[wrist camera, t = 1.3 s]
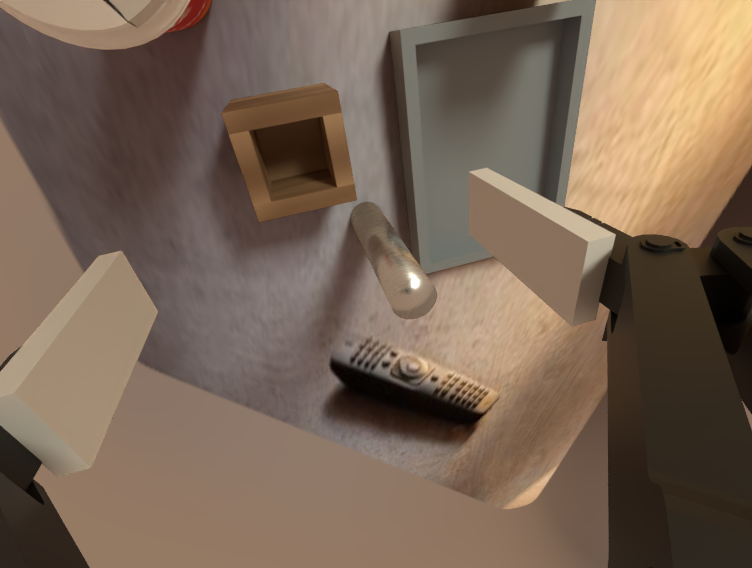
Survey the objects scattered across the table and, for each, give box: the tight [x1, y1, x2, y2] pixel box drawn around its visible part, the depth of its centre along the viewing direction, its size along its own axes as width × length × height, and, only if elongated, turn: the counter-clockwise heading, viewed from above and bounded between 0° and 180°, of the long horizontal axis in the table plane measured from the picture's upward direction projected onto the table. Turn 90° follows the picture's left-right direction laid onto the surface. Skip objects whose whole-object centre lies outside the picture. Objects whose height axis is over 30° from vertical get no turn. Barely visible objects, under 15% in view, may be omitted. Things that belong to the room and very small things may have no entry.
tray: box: [389, 0, 596, 274], centre depth 33 cm, size 20×15×3 cm
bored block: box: [221, 83, 357, 222], centre depth 27 cm, size 7×7×7 cm
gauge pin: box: [351, 202, 437, 319], centre depth 29 cm, size 3×3×14 cm
